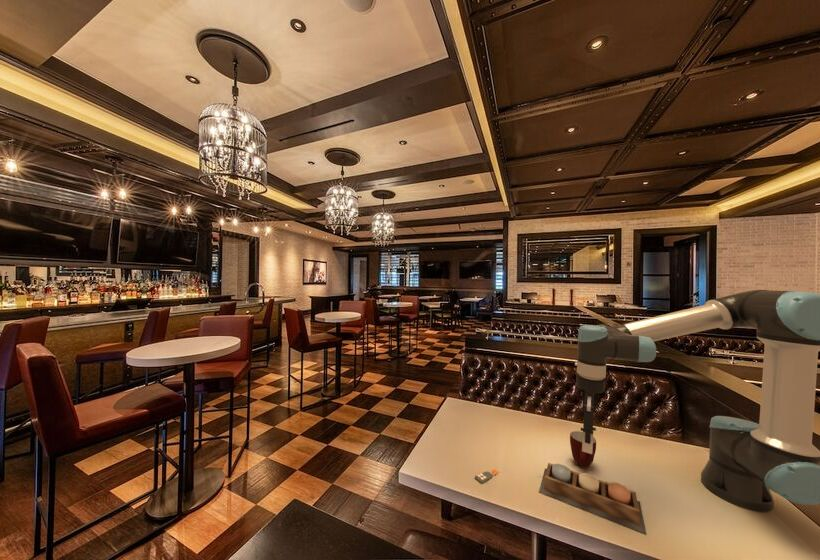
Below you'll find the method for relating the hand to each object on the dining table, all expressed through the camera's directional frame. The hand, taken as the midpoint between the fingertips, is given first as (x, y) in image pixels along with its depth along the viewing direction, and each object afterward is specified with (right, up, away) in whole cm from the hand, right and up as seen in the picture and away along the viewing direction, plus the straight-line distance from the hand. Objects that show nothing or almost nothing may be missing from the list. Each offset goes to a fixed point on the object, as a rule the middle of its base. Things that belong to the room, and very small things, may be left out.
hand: (587, 451), depth 88 cm
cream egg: (0, -11, -1) cm, 11 cm away
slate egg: (-6, -11, +3) cm, 13 cm away
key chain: (-27, -14, +9) cm, 32 cm away
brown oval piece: (+6, -11, -5) cm, 14 cm away
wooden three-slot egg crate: (0, -14, -1) cm, 14 cm away
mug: (+7, -14, +13) cm, 20 cm away
